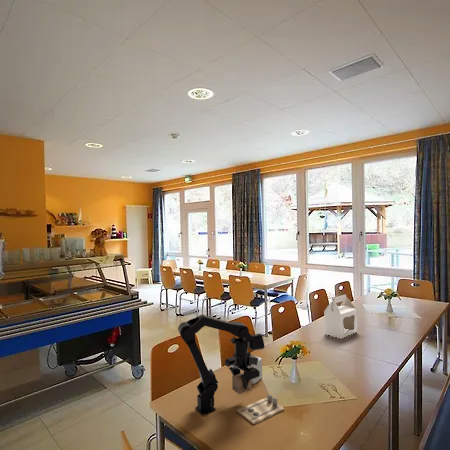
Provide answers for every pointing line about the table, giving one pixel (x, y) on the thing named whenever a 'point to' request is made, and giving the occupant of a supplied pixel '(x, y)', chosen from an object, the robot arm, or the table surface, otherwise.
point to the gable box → (340, 317)
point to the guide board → (261, 409)
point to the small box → (259, 367)
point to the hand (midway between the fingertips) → (241, 386)
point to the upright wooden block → (239, 384)
